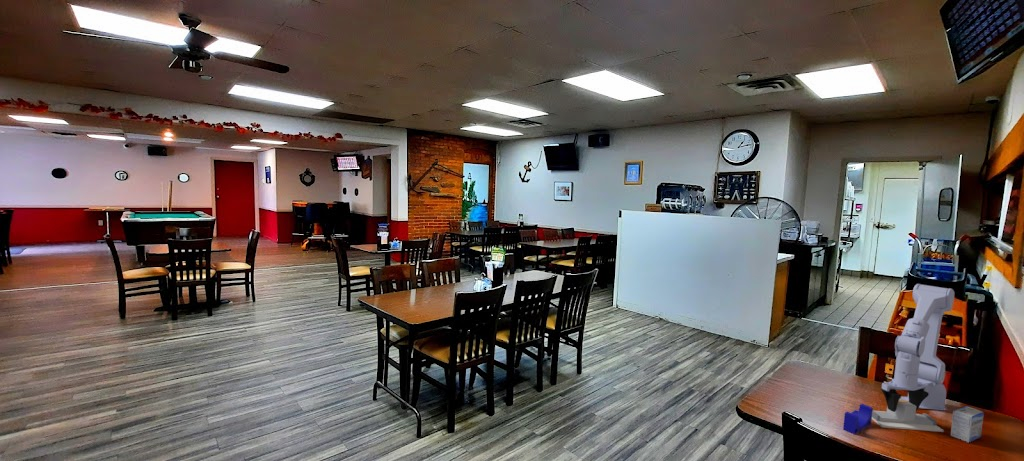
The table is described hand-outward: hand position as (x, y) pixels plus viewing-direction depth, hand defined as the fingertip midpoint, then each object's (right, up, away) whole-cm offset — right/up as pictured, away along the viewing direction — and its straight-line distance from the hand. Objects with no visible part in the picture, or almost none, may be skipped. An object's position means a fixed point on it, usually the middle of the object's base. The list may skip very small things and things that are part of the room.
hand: (902, 410), depth 144 cm
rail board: (0, -4, 0) cm, 4 cm away
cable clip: (-18, -5, -2) cm, 19 cm away
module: (0, -2, +1) cm, 2 cm away
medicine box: (+13, -5, -8) cm, 16 cm away
